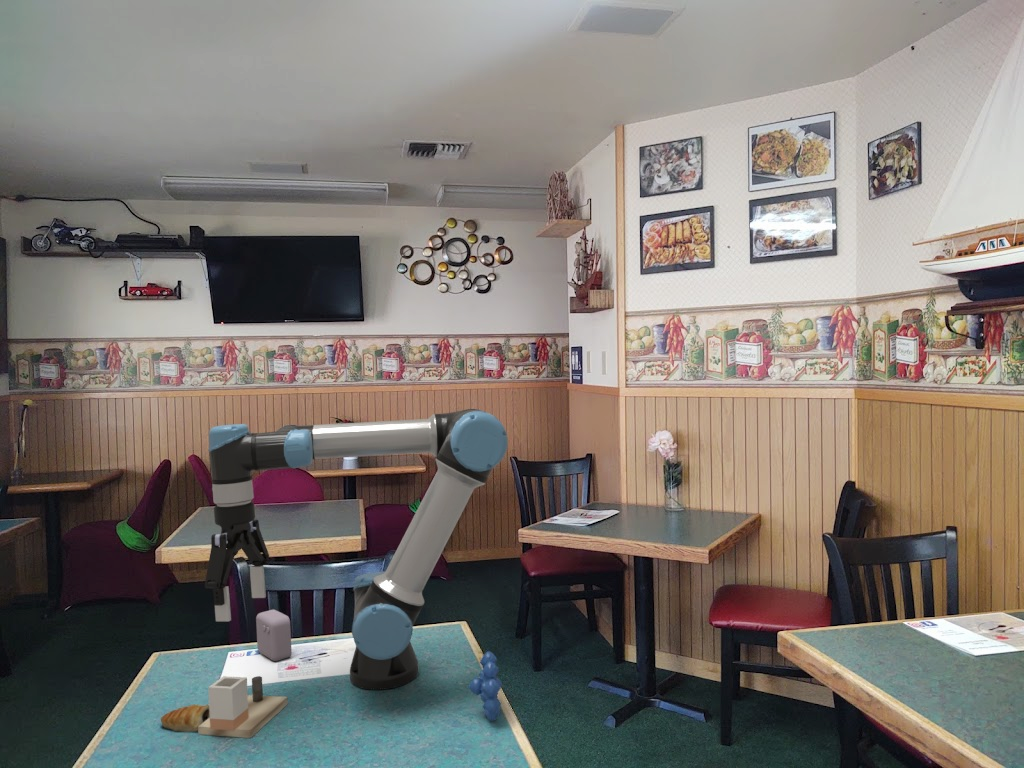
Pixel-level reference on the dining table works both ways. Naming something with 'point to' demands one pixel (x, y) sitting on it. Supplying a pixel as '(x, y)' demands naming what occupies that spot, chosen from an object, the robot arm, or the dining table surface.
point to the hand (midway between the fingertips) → (242, 608)
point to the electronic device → (273, 635)
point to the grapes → (488, 686)
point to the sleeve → (228, 703)
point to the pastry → (186, 718)
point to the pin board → (251, 713)
